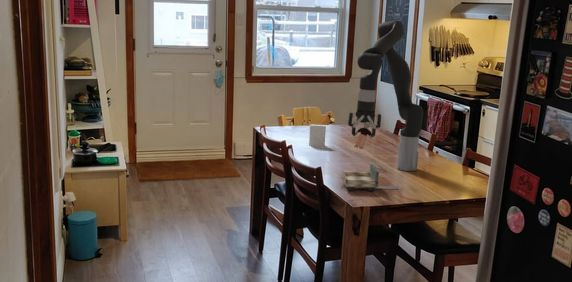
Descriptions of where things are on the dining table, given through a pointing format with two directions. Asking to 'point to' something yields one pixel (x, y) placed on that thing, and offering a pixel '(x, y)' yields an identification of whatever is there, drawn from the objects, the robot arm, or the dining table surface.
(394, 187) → the strip
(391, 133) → the dining table surface
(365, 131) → the grandmother figurine
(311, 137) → the light grey upright block
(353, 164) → the dining table surface
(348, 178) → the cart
